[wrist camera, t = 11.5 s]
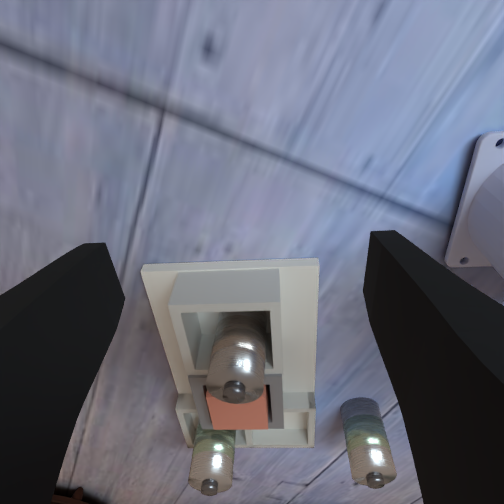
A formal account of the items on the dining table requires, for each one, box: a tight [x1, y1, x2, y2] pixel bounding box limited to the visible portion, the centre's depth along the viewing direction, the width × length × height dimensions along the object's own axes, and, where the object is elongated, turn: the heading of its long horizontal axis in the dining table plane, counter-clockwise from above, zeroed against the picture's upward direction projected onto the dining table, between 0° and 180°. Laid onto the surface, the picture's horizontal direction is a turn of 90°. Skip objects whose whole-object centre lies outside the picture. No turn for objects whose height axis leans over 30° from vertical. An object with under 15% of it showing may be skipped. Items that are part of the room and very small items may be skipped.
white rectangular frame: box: [141, 258, 319, 448], centre depth 27 cm, size 11×18×4 cm, turn 4°
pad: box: [206, 385, 268, 430], centre depth 26 cm, size 4×4×3 cm
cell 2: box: [341, 398, 397, 489], centre depth 29 cm, size 3×3×6 cm
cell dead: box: [206, 311, 267, 404], centre depth 22 cm, size 3×3×6 cm
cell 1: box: [188, 420, 236, 496], centre depth 29 cm, size 3×3×6 cm
